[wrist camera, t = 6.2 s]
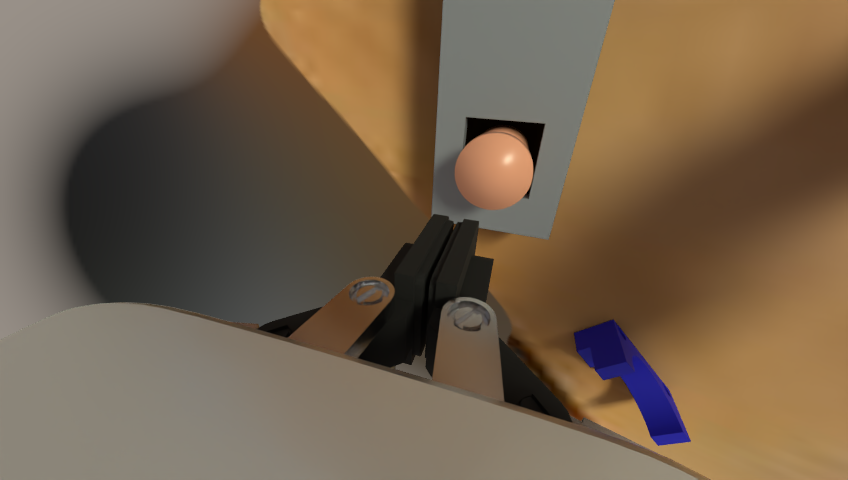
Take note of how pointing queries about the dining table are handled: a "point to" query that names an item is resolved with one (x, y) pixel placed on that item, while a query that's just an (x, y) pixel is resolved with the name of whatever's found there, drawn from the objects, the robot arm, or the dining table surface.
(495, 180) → the terracotta plug
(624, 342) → the blue curved block
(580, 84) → the block
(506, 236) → the dining table surface
